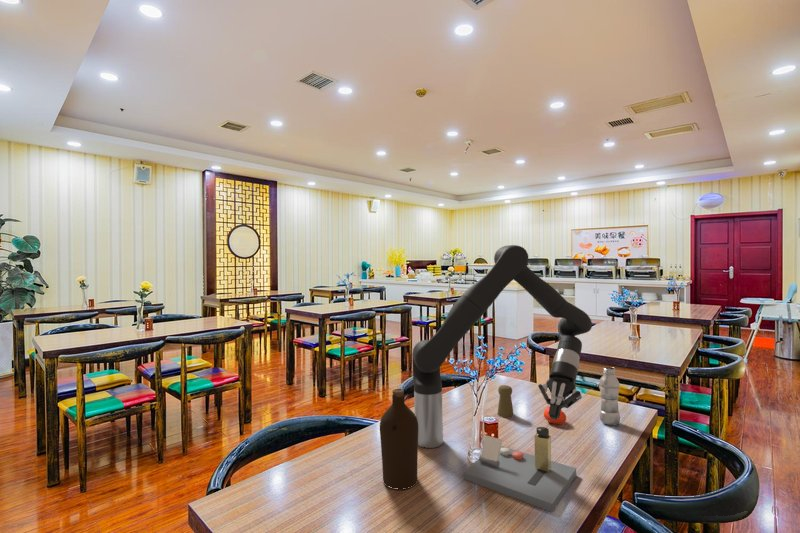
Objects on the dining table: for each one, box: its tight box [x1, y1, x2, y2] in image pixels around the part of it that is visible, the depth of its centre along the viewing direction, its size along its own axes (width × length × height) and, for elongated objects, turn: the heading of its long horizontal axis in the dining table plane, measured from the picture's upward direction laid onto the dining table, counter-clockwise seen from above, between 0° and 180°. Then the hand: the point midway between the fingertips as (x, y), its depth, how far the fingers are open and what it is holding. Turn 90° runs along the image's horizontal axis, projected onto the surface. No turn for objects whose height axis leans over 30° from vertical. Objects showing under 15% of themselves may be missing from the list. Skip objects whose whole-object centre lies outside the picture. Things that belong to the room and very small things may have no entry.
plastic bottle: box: [598, 366, 621, 426], centre depth 144 cm, size 6×7×20 cm
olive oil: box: [379, 388, 419, 489], centre depth 110 cm, size 11×11×25 cm
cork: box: [497, 384, 515, 419], centre depth 154 cm, size 6×6×11 cm
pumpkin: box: [543, 406, 567, 425], centre depth 147 cm, size 7×8×6 cm
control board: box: [463, 445, 577, 513], centre depth 111 cm, size 24×20×3 cm
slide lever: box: [534, 426, 552, 472], centre depth 111 cm, size 4×3×11 cm
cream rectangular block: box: [478, 434, 503, 467], centre depth 115 cm, size 6×2×7 cm, turn 51°
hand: (553, 418), depth 118 cm, fingers closed
